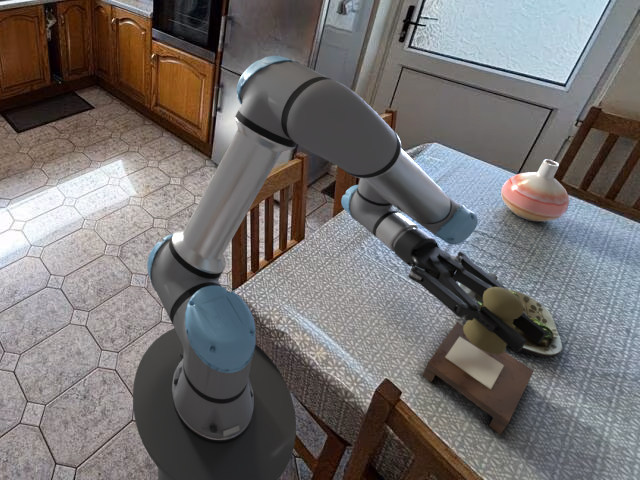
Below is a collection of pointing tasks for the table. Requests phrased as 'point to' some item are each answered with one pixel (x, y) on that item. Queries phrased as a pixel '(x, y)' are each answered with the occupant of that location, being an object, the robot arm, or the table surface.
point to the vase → (536, 194)
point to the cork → (502, 307)
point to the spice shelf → (480, 376)
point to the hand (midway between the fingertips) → (531, 341)
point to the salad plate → (539, 315)
